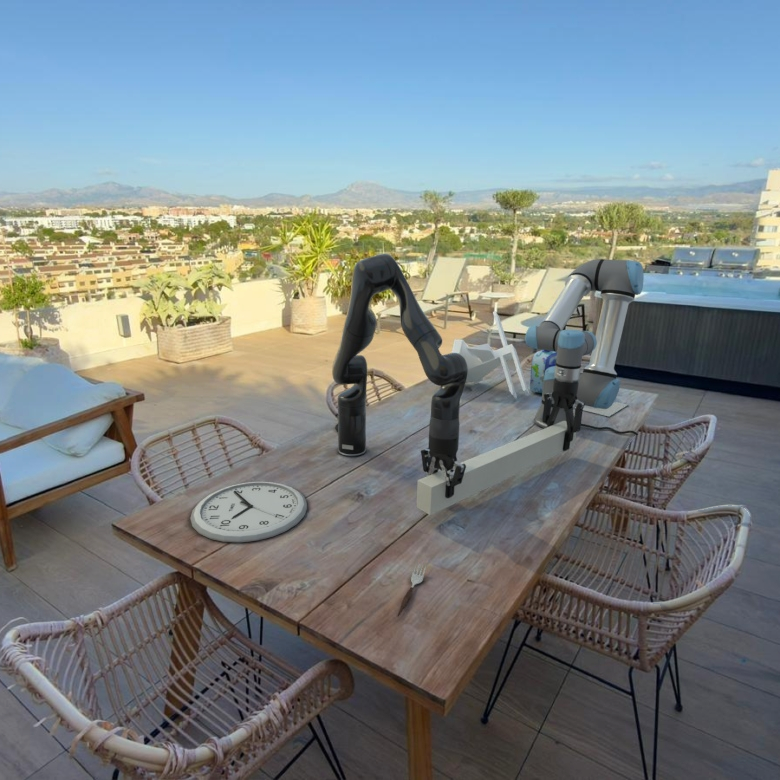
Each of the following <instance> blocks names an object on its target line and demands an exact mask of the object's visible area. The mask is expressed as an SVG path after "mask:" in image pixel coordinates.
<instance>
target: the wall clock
mask: <svg viewBox="0 0 780 780" xmlns="http://www.w3.org/2000/svg"><path fill="white" fill-rule="evenodd" d="M307 503H308V502H307V499H306V498H305V496H304V495H303V493H301V492H300V491H298V490H297V489H295V488H294V487H291V486H289V485H286V484H283V483H280V482H279V483H278V482H272V481H249V482H248V481H247V482H242V483H238V484H232V485H229V486H226V487H223V488H220V489H218V490H216V491H213V492H211V493H210V494H208V495H207V496H205V497H204V498H202V499H201V500H200V501H199V502H198V503H197V504H196V505H195V507H194V508H193V509H192V511H191V515H190V523H191V526H192V528H193V529H194V531H196V532H197V533H198V534H199V535H201V536H203V537H205V538H208V539H210V540H214V541H218V542H222V543H239V544H240V543H249V542H256V541H262V540H265V539H269V538H274V537H276V536H278V535H280V534H282V533H286V532H287V531H289V530H290V529H292V528H293V527H295V526H296V525H298V524H299V523H300V522H301V521H302V519H303V518H304V517H305V516H306V513H307V510H308V504H307Z"/></svg>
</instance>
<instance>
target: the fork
mask: <svg viewBox="0 0 780 780" xmlns="http://www.w3.org/2000/svg"><path fill="white" fill-rule="evenodd" d="M415 563H416V564H415V566H414V569H413V572H412V575H411V577H410V581H411V584H412V585H411V587H410V588H409V589H408V590H407V592H406V593H405V595H404V596H403V599H402V602H401V605H400V607H399V611H398V613H397V617H399V616H400V615H401V613H402V612H403V610H404V609H405V607H406V605H407V604H408V603H409V601H410V599H411V596H412V593H413V589H414V587H415V586H416V585H419V584H421V583H422V582H423V581H424V578H425V572H426V568H427V565H425V566H424V564H422V566H421V563H419V564H418V562H415ZM417 564H418V567H417ZM420 566H421V569H420ZM423 567H424V569H423ZM422 572H423V573H422Z"/></svg>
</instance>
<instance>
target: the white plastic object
mask: <svg viewBox="0 0 780 780" xmlns="http://www.w3.org/2000/svg"><path fill="white" fill-rule="evenodd" d="M492 315H493V319H494V321H495V324H496V325H495V326H496V328H497V332H498V335H499V338H500V342H501V345H502V347H500V348H498V349H496V350H495V349H493V348H492V347H491V346H490V344H489V343H488V342H487V343H483V344H479V345H473V346H469V345H468V343H466V342H465V340H464V339H463V338H460V339H458V338H454V340H453V344H452V349H451V352H450V353H459V354H461V355H462V356H463V357H464V358H465V360H466V363H467V368H468V373H467V379H466V383H465V384H467V383H468V384H469V383H473V384H477V383H480V382H482V381H484V378H485V377H486V376H487V375H489V374H490V373H492V372H494V371H495V370H496V369H497V368H499V367H500V366H502V370H503V373H504V376H505V380H506V383H507V386H508V390H509V393H510V394H511V395H512V397H513V398H514V399H515V400H517V392H516V391H517V390H516V388H515V385H514V381H513V378H512V375H511V371H510V369H509V365H508V361H510V360H513V363H514V366H515V369H516V372H517V376H518V380H519V382H520V385H521V389H522V391H523V393H524V395H525V396H526V397H528V396H531V395H530V389H529V388H528V387H529V386H528V384H527V381H526V378H525V375H524V371H523V369H522V368H523V367H522V366H521V362H520V359H519V355H518V352H517V349H516V347H515V346H514V345H513V343H511V344H508V341H507V337H506V334H505V331H504V328H503V325H502V321H501V318H500V315H499V314H498V312H497V311H496V310H495V311H492Z"/></svg>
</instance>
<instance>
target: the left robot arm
mask: <svg viewBox="0 0 780 780" xmlns="http://www.w3.org/2000/svg"><path fill="white" fill-rule="evenodd" d="M388 290H390V291H391V292H392V293H393V295H394V296H395V298H396V299H397V302H398V306H399V307H398V308H399V320H400V326H401V330H402V332H403V334H404V336H405V337H406V338H407V341H409V343H410V345H411V346H412V347H413V348H414V350H415V351H416V353H417V356H418V358H419V362H420V364H421V367H422V369H423V372H424V374H425V376H426V378H427V379H428V380H429V381H430V382H431V383H432V384H434V385H436V386H439V389H437V390H436V391H435V392H434V393H433V394H432V396H431V402H430V405H431V406H430V419H429V423H428V424H429V425H428V426H429V430H428V447H427V448H423V449H421V450H420V455H421V463H422V469H423V472H424V473H427V476H429V475H432V474H434V473H437V472H439V471H442V473H443V476H444V477H445V480H446V484H447V485H446V491H445V497H446V498H450V497H452V496H453V495H454V487H455V486H456V485H458V484H461V483H462V479H463V476H464V472H465V469H466V465H465V464H460V463H461V462H459V461H458V457H457V453H458V451H459V444H460V425H461V423H460V411H461V410H460V409H461V399H462V395H463V393H464V389H465V386H466V384H467V383H466V379H467V373H468V368H467V363H466V360H465V358H464V357H463V356H462V355H461V354H459V353H451V352H450V353H446V354H443V355H442V352H441V351H440V348H441V346H442V344H443V337H442V336H441V334H440V333H439V331H438V330H437V329H436V327H435V326H434V325H433V323H432V322H431V320H430V319H429V318H428V317H427V315H426V314H425V311H424V310H423V308H422V307H421V305H420V304H419V302H418V300H417V298H416V296H415V294H414V292H413V290H412V288H411V286H410V284H409V282H408V280H407V278H406V276H405V274H404V273H403V271H402V269H401V267H400V266H399V264H398V262H397V261H396V259H395V258H394V257H393V256H392V255H390V254H388V253H381V254H376V255H374V256H370V257H367V258H364V259H360V260H359V261H358V262H356V264H354V268H353V271H352V277H351V287H350V296H349V297H350V298H349V303H348V306H347V313H346V316H345V319H344V323H343V327H342V333H341V338H340V342H339V346H338V348H337V351H336V353H335V356H334V359H333V362H332V369H331V375H332V379H333V381H334V382H335V383H336V384H337V385H341V386H343V385H352V386H350V387H349V388H348V389H346V390H344V391H342V392H340V393H339V394H338V396H337V413H335V415H334V416H335V417H337V423H336V425H335V427H334V428H335V430H336V432H337V443H338V444H337V446H338V447H337V451H338V454H339V455H341V456H343V457H350V458H353V457H354V458H355V457H360V456H362V455H365V454H366V452H367V448H366V446H367V443H366V442H367V441H366V440H367V409H366V407H367V401H366V400H367V384H368V362H367V359H366V357H365V356H364V355H362V354H360V353H361V352H362V351H364V350H365V349H366V348H367V347H369V346H370V344H371V343H372V341H373V340H374V337H375V333H376V330H377V326H378V318H377V316H376V314H375V312H374V311H373V309H372V308H371V306H370V305H371V301H372V298H373V297H374V296H375V295H376V294H380V293H383V292H386V291H388ZM454 466H455V467H454ZM449 470H450V472H448V473H447V471H449ZM450 476H451V480H450Z"/></svg>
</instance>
